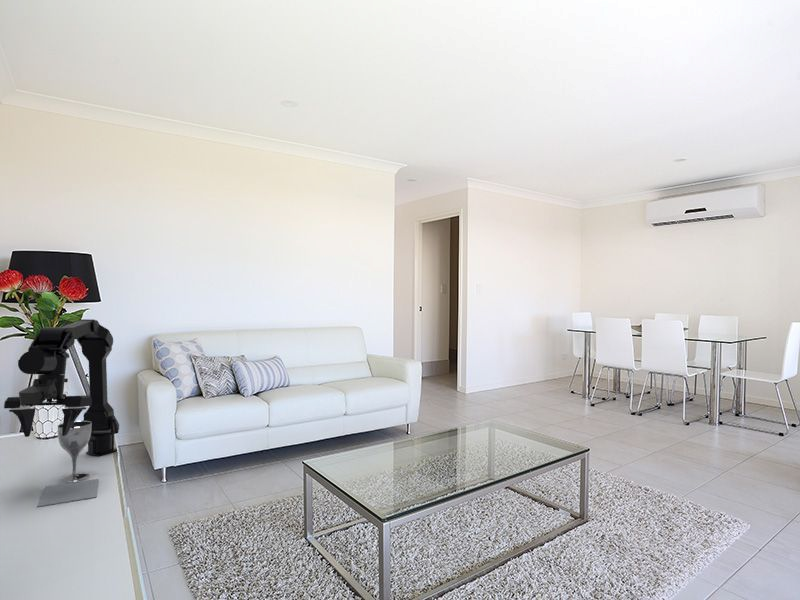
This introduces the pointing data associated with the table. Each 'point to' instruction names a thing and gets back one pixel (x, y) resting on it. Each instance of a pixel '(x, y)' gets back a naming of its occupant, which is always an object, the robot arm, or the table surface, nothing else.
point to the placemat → (68, 492)
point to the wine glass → (75, 446)
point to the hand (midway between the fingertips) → (45, 436)
